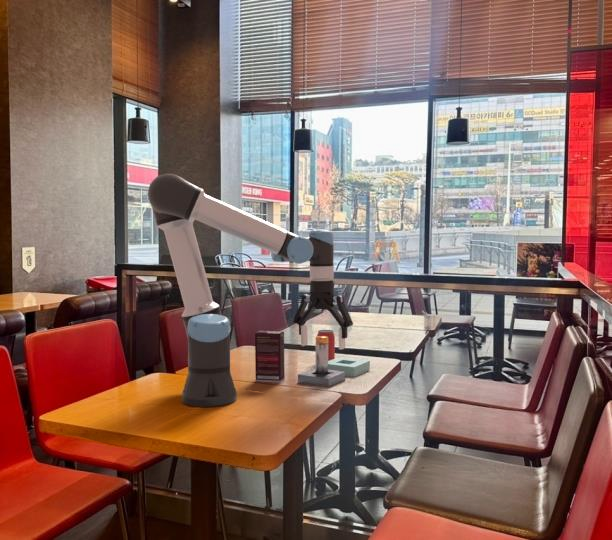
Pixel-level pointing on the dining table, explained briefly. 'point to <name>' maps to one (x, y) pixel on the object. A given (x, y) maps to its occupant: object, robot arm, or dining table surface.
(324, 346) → the pin
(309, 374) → the mount
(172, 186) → the robot arm
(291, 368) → the dining table surface
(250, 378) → the dining table surface
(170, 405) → the dining table surface
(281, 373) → the supplement box
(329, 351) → the beer can
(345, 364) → the socket block
